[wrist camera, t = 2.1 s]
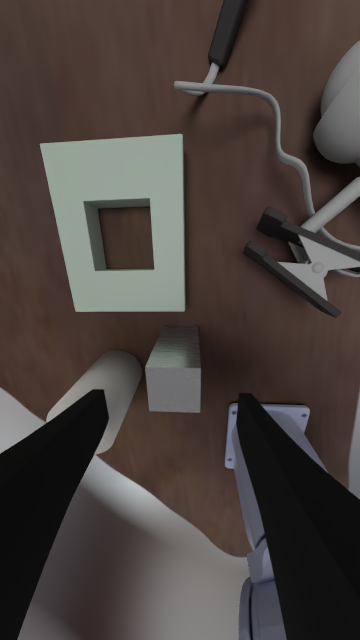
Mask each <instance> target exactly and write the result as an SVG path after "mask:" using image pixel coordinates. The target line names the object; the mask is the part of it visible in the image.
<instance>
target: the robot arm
mask: <svg viewBox="0 0 360 640" xmlns="http://www.w3.org/2000/svg"><path fill="white" fill-rule="evenodd" d="M233 411H235V412H233ZM309 414H310V409H309V408H308V407H307V406H305V405H280V404H260V403H259V402H258V401H257V399H256V398H255V397H254V396H253V395H252V394H251V393H239V399H238V403H232V404H230V406H229V414H228V426H227V438H226V450H225V467H227V468H233V469H234V472H235V477H236V482H237V487H238V493H239V498H240V503H241V508H242V513H243V518H244V524H245V529H246V533H247V537H248V540H249V542H250V545H251V547H252V549H253V551H252V552H250V553H248V554H247V561H248V566H249V571H250V577H249V578H247V579H246V580H245V582H244V584H243V587H242V591H241V597H240V609H239V610H240V611H239V640H360V499H358V498H357V497H356V496H354V495H353V494H352V493H351V492H350V491H348V490H347V489H346V488H345V487H344V486H342V485H341V484H340V483H339V482H338V481H337V480H335V479H334V478H333V477H332V476H331V475H330V474H329V473H328V471H327V470H326V468H325V466H324V465H323V463H322V462H321V460H320V459H319V457H318V455H317V454H316V452H315V451H314V449H313V447H312V446H311V444H310V443H309V441H308V439H307V438H306V436H305V435H304V432H305V429H306V425H307V421H308V417H309ZM108 421H109V414H108V409H107V403H106V398H105V393H104V389H92V390H91V391H89V392H88V393H87V394H85V395H84V396H83V397H81V398H80V399H79V400H77V401H76V402H75V403H73V404H72V405H71V406H69V407H68V408H67V409H65V410H64V411H63V412H61V413H60V414H59V415H57V416H56V417H55V418H53V419H52V420H50V421H49V422H47V423H46V424H45V425H43V426H42V427H40V428H39V429H38V430H36V431H35V432H33V433H32V434H30V435H29V436H27V437H26V438H24V439H23V440H21V441H20V442H18V443H17V444H15V445H14V446H12V447H10V448H9V449H7V450H5V451H4V452H2V453H1V454H0V640H17V638H18V636H19V633H20V630H21V627H22V624H23V621H24V619H25V616H26V613H27V610H28V607H29V605H30V602H31V599H32V597H33V594H34V592H35V589H36V586H37V583H38V581H39V578H40V576H41V573H42V570H43V567H44V565H45V563H46V560H47V557H48V555H49V552H50V550H51V547H52V545H53V542H54V540H55V537H56V535H57V532H58V530H59V528H60V525H61V523H62V520H63V518H64V516H65V513H66V511H67V508H68V506H69V504H70V501H71V499H72V497H73V495H74V493H75V491H76V489H77V487H78V485H79V483H80V481H81V479H82V477H83V475H84V473H85V471H86V469H87V467H88V465H89V463H90V461H91V459H92V458H93V456H94V454H95V452H96V450H97V448H98V446H99V444H100V442H101V439H102V437H103V435H104V432H105V429H106V427H107V424H108Z"/></svg>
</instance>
